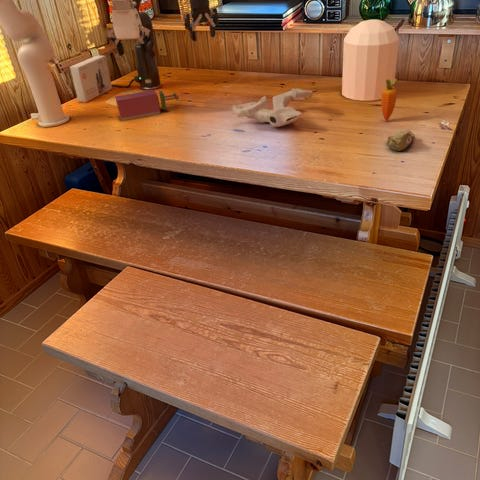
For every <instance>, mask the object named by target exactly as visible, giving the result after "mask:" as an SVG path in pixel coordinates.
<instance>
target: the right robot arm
mask: <svg viewBox="0 0 480 480" xmlns="http://www.w3.org/2000/svg"><path fill="white" fill-rule="evenodd" d="M133 1H135V2H136V5H135V6H134V8H136V9H137V12H138V14H139V17H140V20H141V24H142V26H143V27H145V28H147V29H149V30H150V34H149V38H148V40H147V42H146V46H147V53H146V54H145V55H142V51H141V46H140V44H141V42H140V41H139V40H138V39H137V41H136V42H135V43H134V45H133V50H134V54H135V59H136V64H137V67H136V71H137V72H136V73H137V74H136V75H134V78H133V79H131V80H130V81H129V83H128V84H127V85H119V84H111V85H112V87H116V88H122V89H127V88H130V87H131V85H132V84H133V82H135V83H137V84H139V87H140V89H142V90H143V91H149V90H157V89H159V88H161V87H162V84H161V78H160V73H159V72H160V71H159V67H158V66H159V65H158V62H157V61H158V60H157V55H156V50H155V35H154V27H153V22H152V18H151V16H150V14H149V13H148V12H146V11H140V8H141V2H142V0H133ZM189 6H190V7H189V8H190V12H188V13H187V12H184V13H183V21H184V29H185V30H186V31H189V32H190V39H191V40H192V41H193V42H197V40H198V39H197V33H196V28H197V27H198V25H199V24H202V23H207V24H208V25H209V34H210V37H211V38H215V36H216V26H218V25H219V24H220V21H219V15H218V9H217V8H216V7H211V8H210V0H189ZM211 15H212V18H211V17H210V16H211ZM191 18H192V20H191ZM144 36H145V32H143V37H144Z"/></svg>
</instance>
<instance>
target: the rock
mask: <svg viewBox="0 0 480 480" xmlns="http://www.w3.org/2000/svg"><path fill="white" fill-rule="evenodd" d="M415 139H416V135H415V134H414V132H412V131H411V130H408V129H407V130H404V131H398V132H396V133H394V134H393V135H392V134H391V135H389V136H388V137H387V143H388V145H387V146H388V147H389V149H391V150H392V151H395V152H404V151H406V150H407V148H409V145H410V144H411V143H412V142H413V141H414V140H415Z"/></svg>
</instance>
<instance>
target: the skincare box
mask: <svg viewBox="0 0 480 480" xmlns="http://www.w3.org/2000/svg"><path fill="white" fill-rule="evenodd" d="M69 70H70V74H71V78H72V82H73V86H74V90H75V94H76V98H77V102H81V103H82V102H84V103H87V102H89V101H91V100H93V99H95V98H97V97H100V96H101V95H103V94H105V93H107V92H108V91H110V90H112V89H113V86H112V85H113V84H112V81H111V76H110V72H109V71H110V70H109V66H108V62H107V57H106V55H100V54H99V55H95V56H92V57H90V58H87V59H85V60H83V61H80V62H78V63H75V64H73V65H71V66H69Z"/></svg>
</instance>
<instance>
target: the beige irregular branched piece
mask: <svg viewBox="0 0 480 480" xmlns="http://www.w3.org/2000/svg"><path fill="white" fill-rule="evenodd" d="M313 93H314V92H313V91H312V90H307V89H302V88H292V89H291V90H289V91H286V92H283V93H281V94H277V95H275V96H272V102H271V103H272V107H273V109H272V110H271V109H266V108H265V107H267V106H268V98H267V96H266V95H264V96H262V97H261V98H260V99H259V100H258V101H257V102H256V101H251V102H246V103H240V104H234V105H232V106H231V107H232V108H231V109H232V112H233V113H234V115H235V116H237V118H244V117H246V118H248V119H252V120H257V122H259V123H269V124H270V126H272V127H274V128H280V127H284V126H287V125H290V124H294V123H296V121H298V120H301V119H302V112H301V111H300V110H297V109H295V108H294V107H291V106H288V105H289V103H290V102H292V101H299V100H308V101H310V100H311V99H312V97H313Z"/></svg>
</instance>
